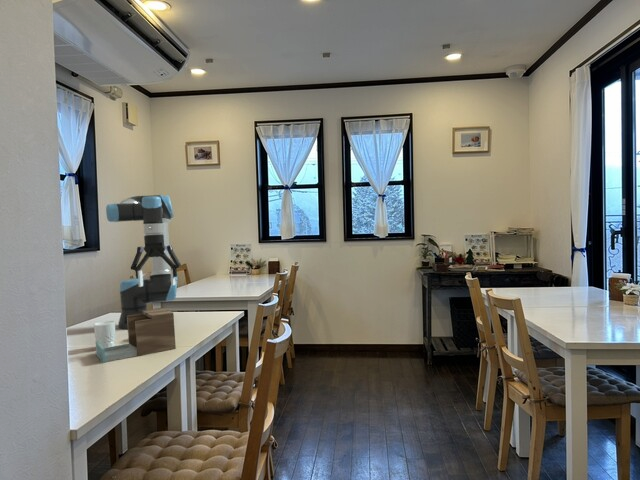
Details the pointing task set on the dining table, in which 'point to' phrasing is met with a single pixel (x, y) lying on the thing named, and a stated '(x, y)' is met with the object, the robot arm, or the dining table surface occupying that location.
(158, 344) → the wooden drawer box
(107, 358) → the teal drawer
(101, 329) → the white cup
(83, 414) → the dining table surface
